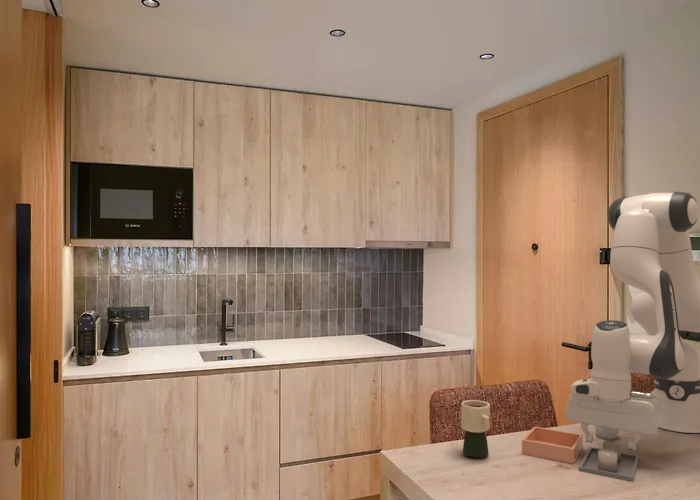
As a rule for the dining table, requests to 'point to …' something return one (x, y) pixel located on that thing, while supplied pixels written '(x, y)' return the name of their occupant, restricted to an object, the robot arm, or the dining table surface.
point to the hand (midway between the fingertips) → (610, 445)
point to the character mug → (475, 427)
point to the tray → (624, 468)
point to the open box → (552, 445)
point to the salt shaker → (606, 432)
